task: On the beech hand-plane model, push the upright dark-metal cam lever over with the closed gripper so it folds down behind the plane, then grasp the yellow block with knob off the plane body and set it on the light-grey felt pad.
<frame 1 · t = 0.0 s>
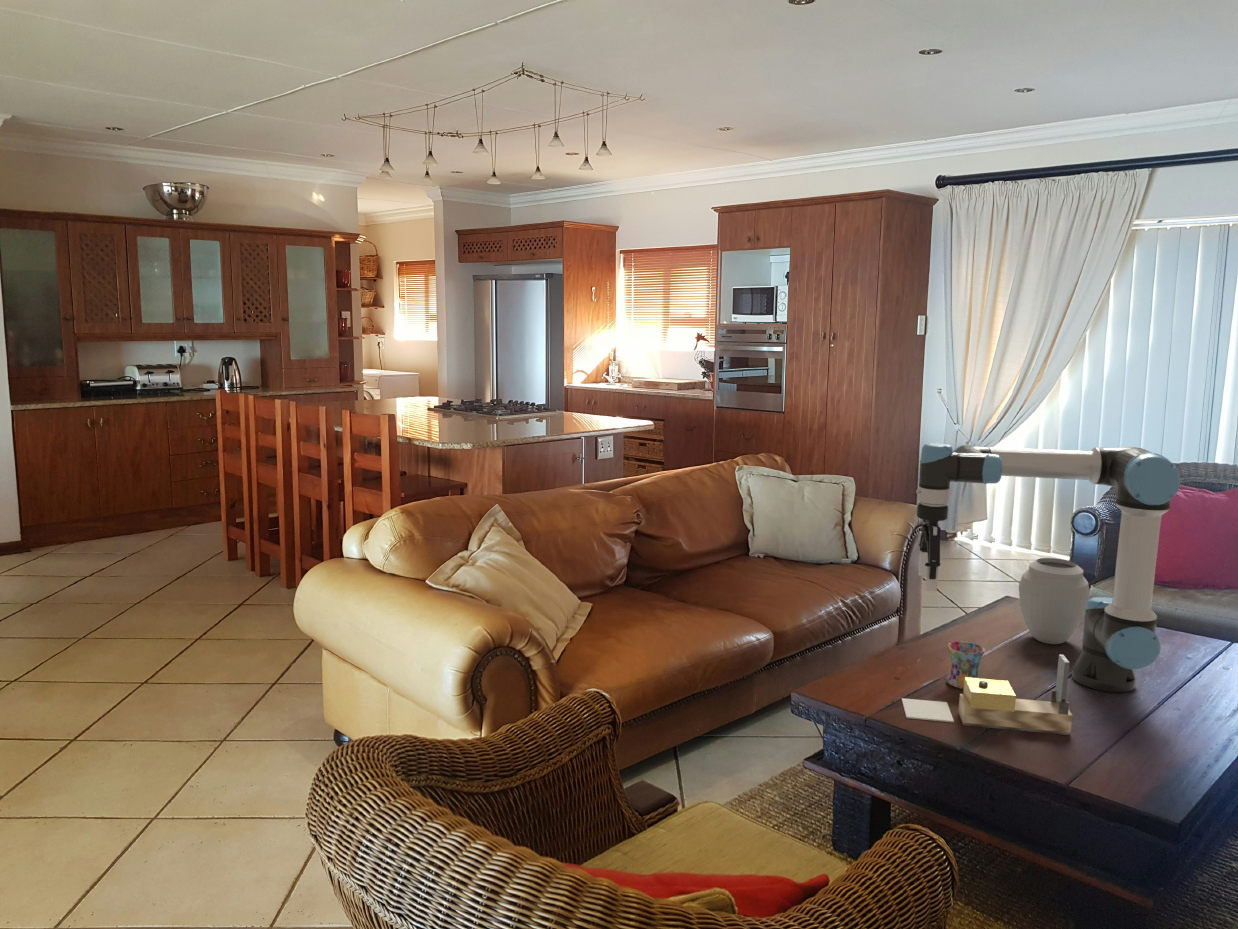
hand: (927, 583, 239), 28 cm above the table, fingers open, 13 cm apart
vase: (1048, 640, 278), on the table
yellow block with knob: (988, 701, 221), point 5 cm above the table, touching plane body
felt pad: (927, 710, 227), on the table
plane body: (1012, 723, 221), on the table
mug: (965, 684, 244), on the table
lever: (1061, 681, 217), point 12 cm above the table, hinge at 0.0°
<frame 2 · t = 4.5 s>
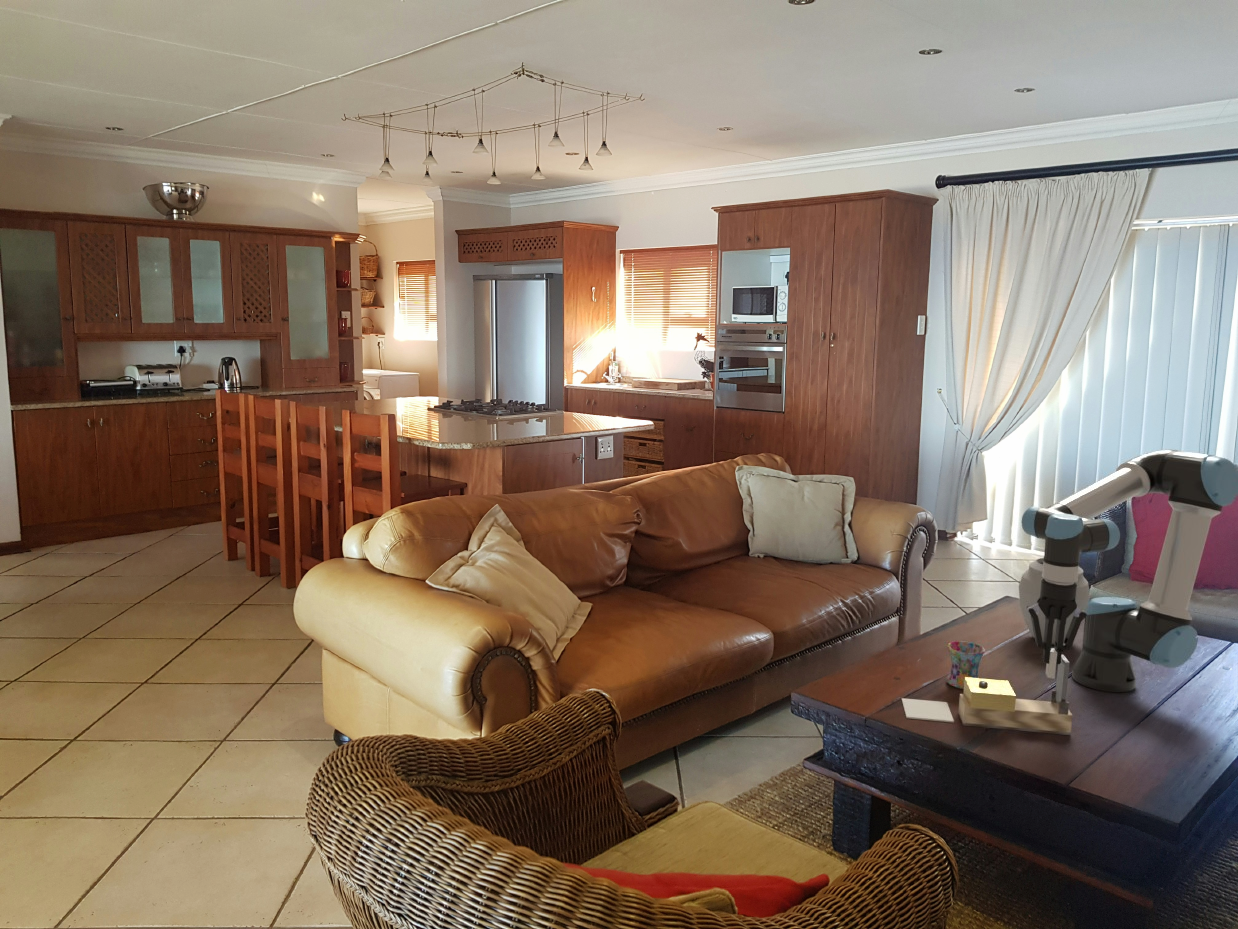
hand: (1050, 676, 217), 13 cm above the table, fingers closed
lever: (1061, 681, 217), point 12 cm above the table, hinge at 0.1°, touching gripper
everything else where it was.
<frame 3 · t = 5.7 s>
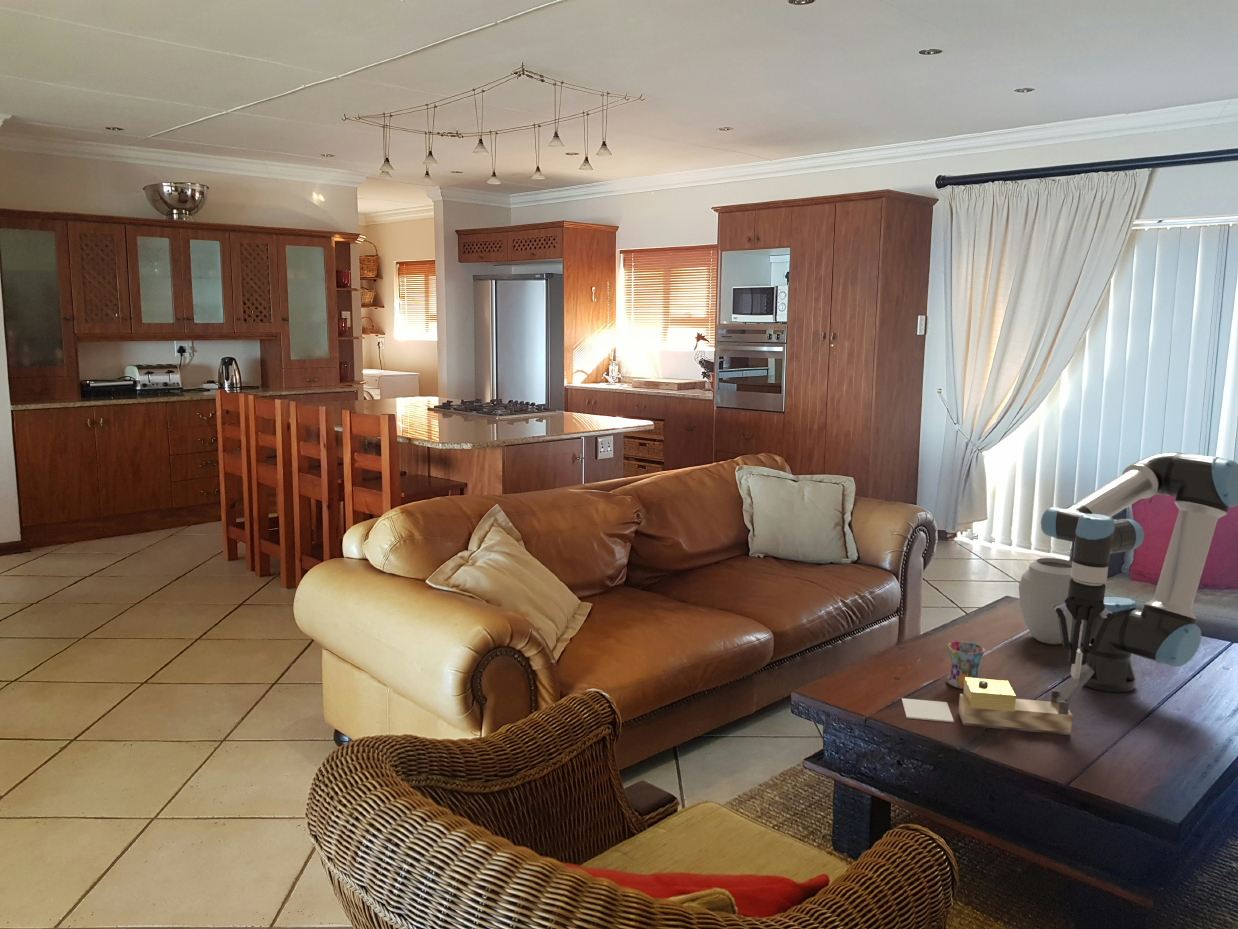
hand: (1074, 676, 216), 13 cm above the table, fingers closed
lever: (1073, 685, 216), point 11 cm above the table, hinge at 31.5°, touching gripper
everything else where it was.
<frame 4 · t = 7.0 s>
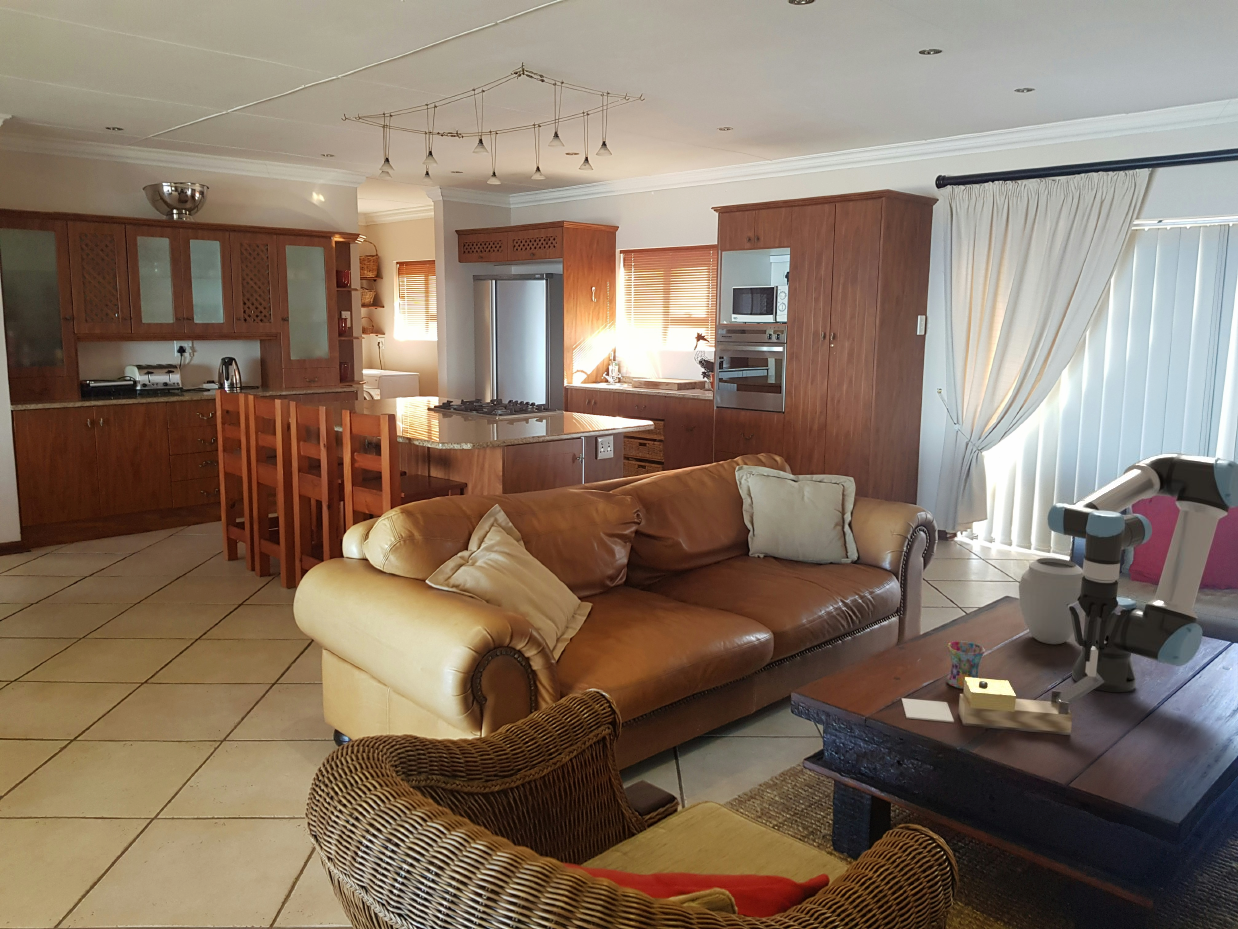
hand: (1090, 674, 216), 14 cm above the table, fingers closed
lever: (1078, 690, 216), point 10 cm above the table, hinge at 48.1°
everything else where it was.
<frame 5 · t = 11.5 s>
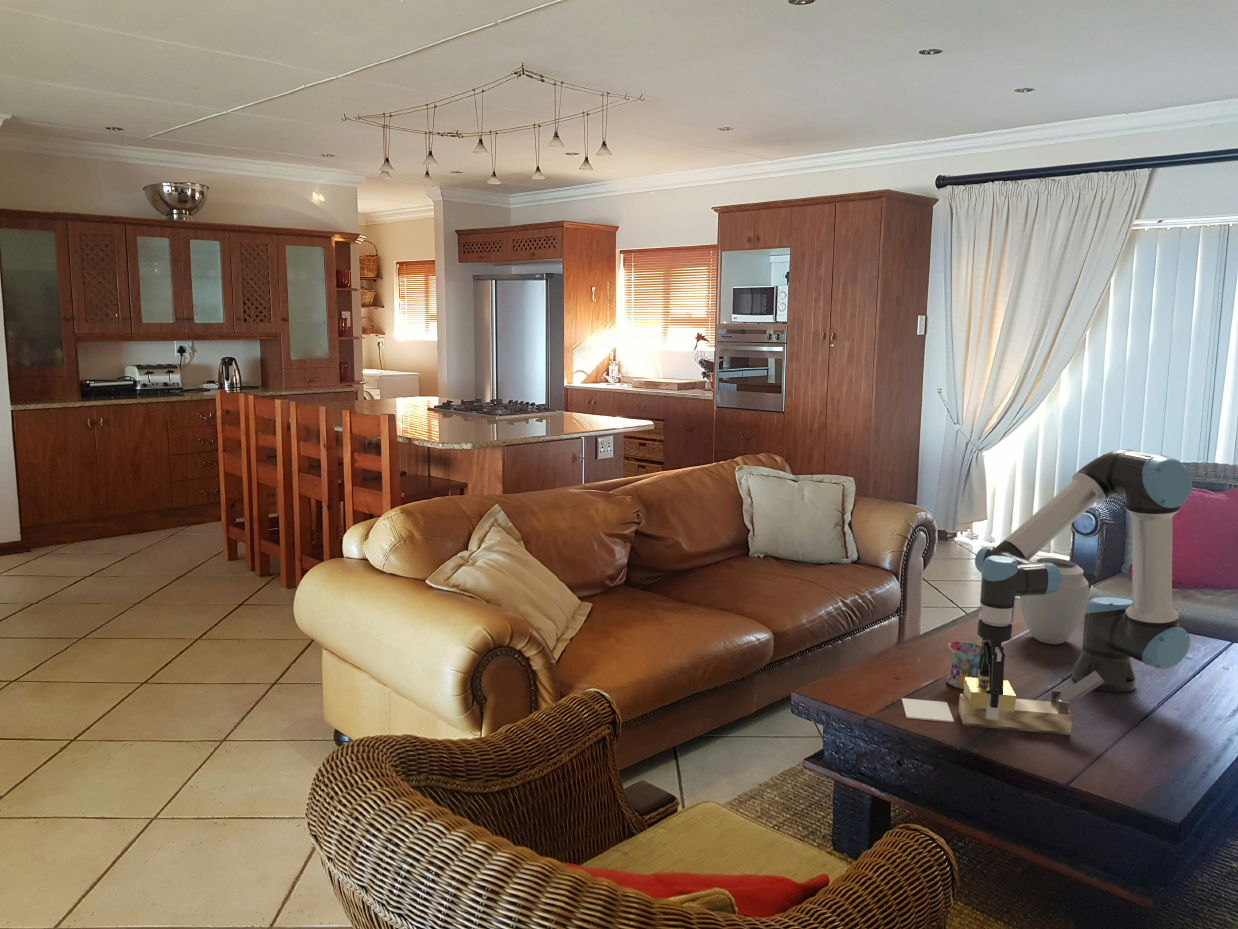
hand: (987, 710, 221), 3 cm above the table, fingers closed on yellow block with knob, 9 cm apart
yellow block with knob: (988, 701, 221), point 5 cm above the table, touching gripper, plane body
everything else where it was.
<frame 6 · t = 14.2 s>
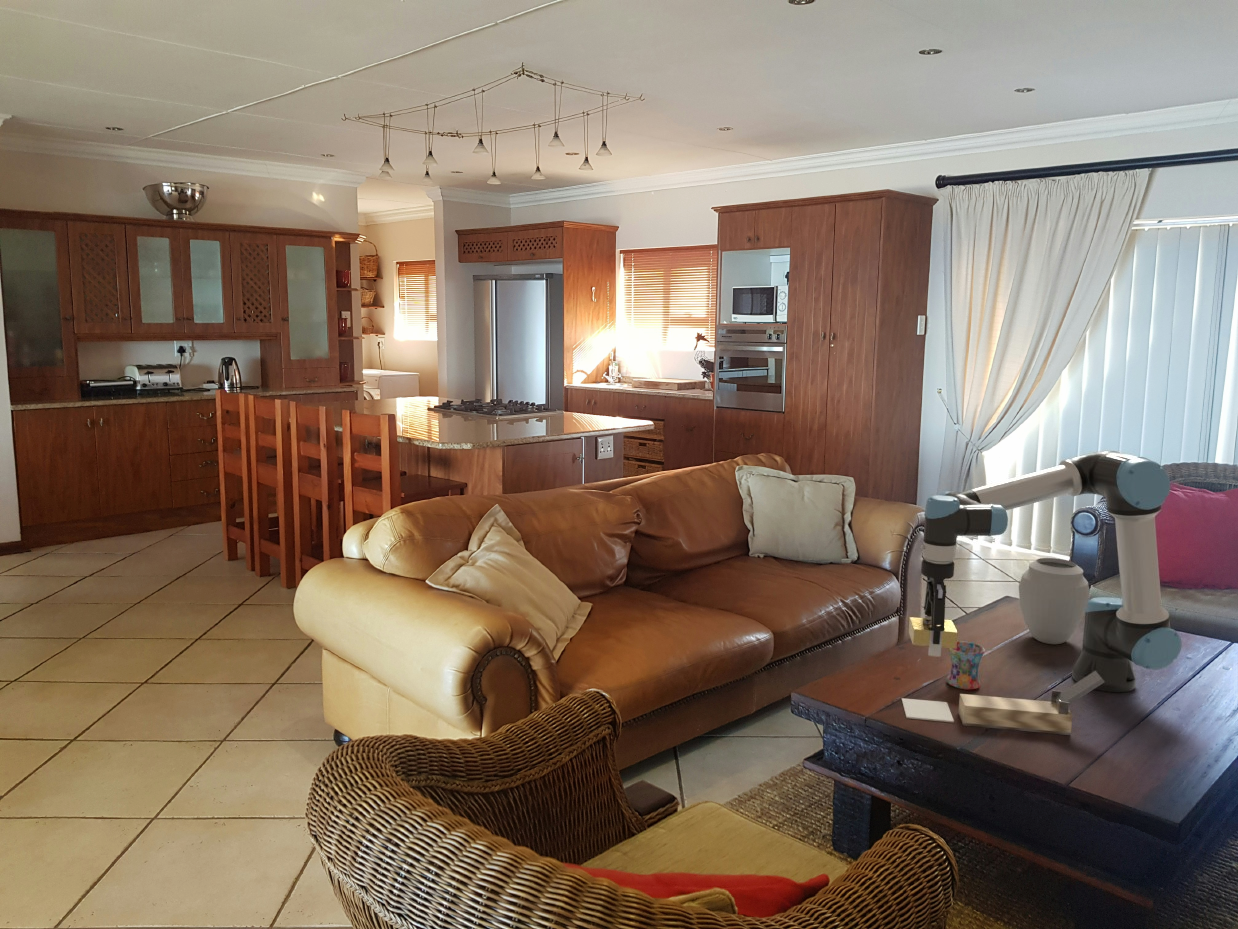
hand: (931, 648, 224), 16 cm above the table, fingers closed on yellow block with knob, 9 cm apart
yellow block with knob: (932, 640, 224), point 18 cm above the table, touching gripper
everything else where it was.
when the fingers open (1 cm above the table, at t = 17.2 s): yellow block with knob drops 3 cm, resting on felt pad.
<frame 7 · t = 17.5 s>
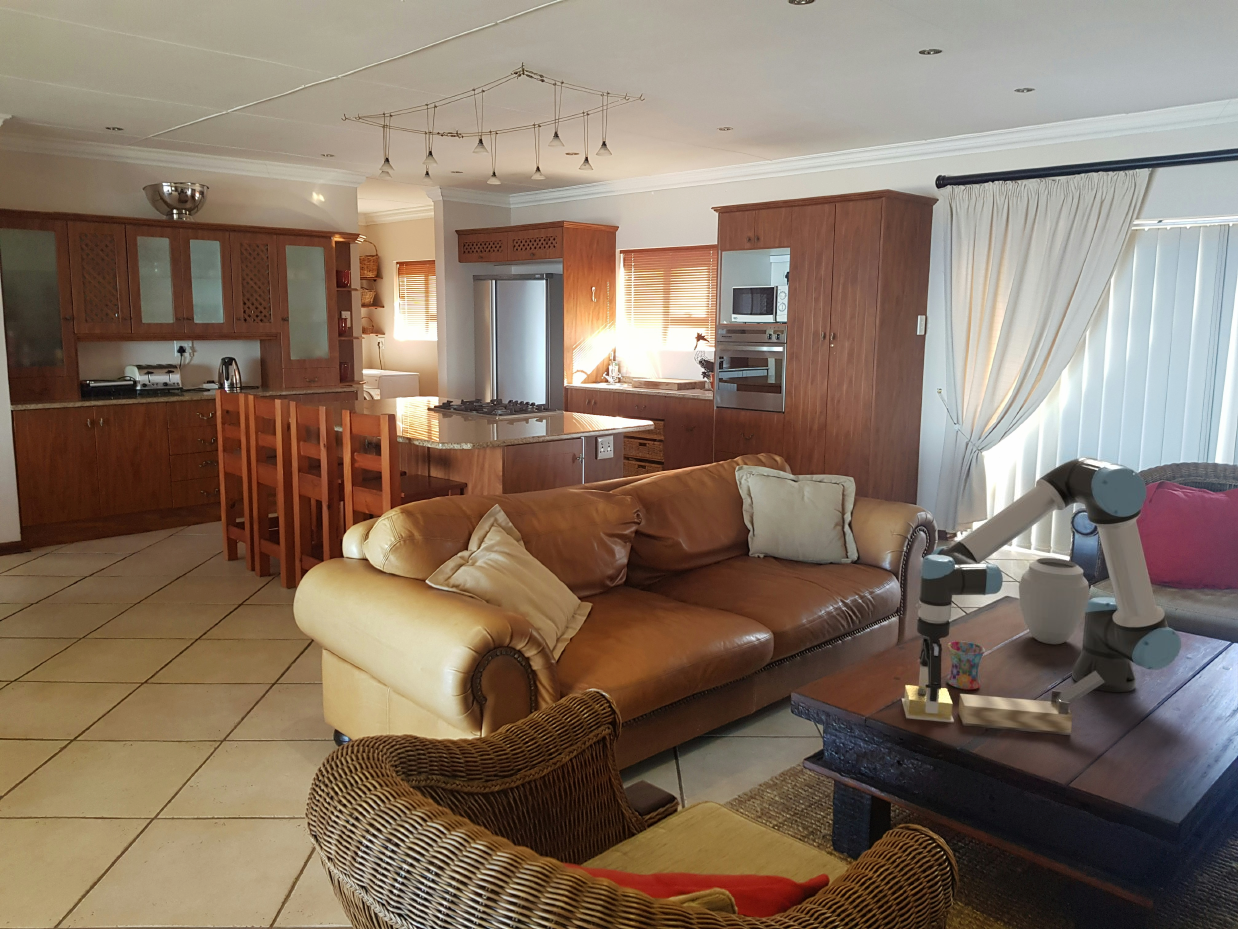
hand: (927, 701, 227), 2 cm above the table, fingers open, 12 cm apart
yellow block with knob: (927, 709, 227), resting on felt pad
everything else where it was.
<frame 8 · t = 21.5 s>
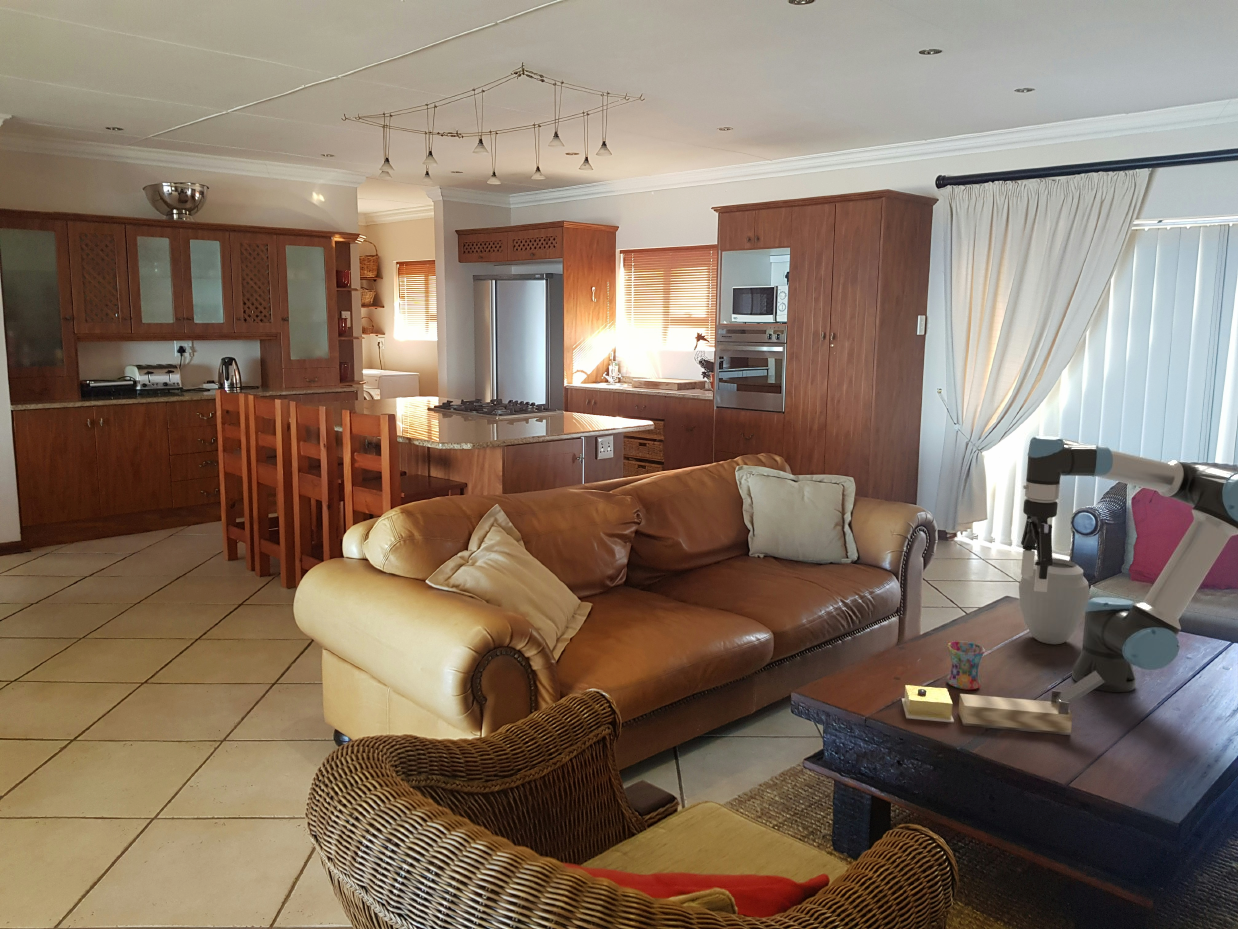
hand: (1033, 583, 227), 32 cm above the table, fingers open, 13 cm apart
nothing on the table moved.
at the end: lever at +48° (first picture: +0°); yellow block with knob inside the target area on the felt pad (0.0 cm from its centre), point 0.4 cm above the felt pad's base; yellow block with knob touching felt pad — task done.
